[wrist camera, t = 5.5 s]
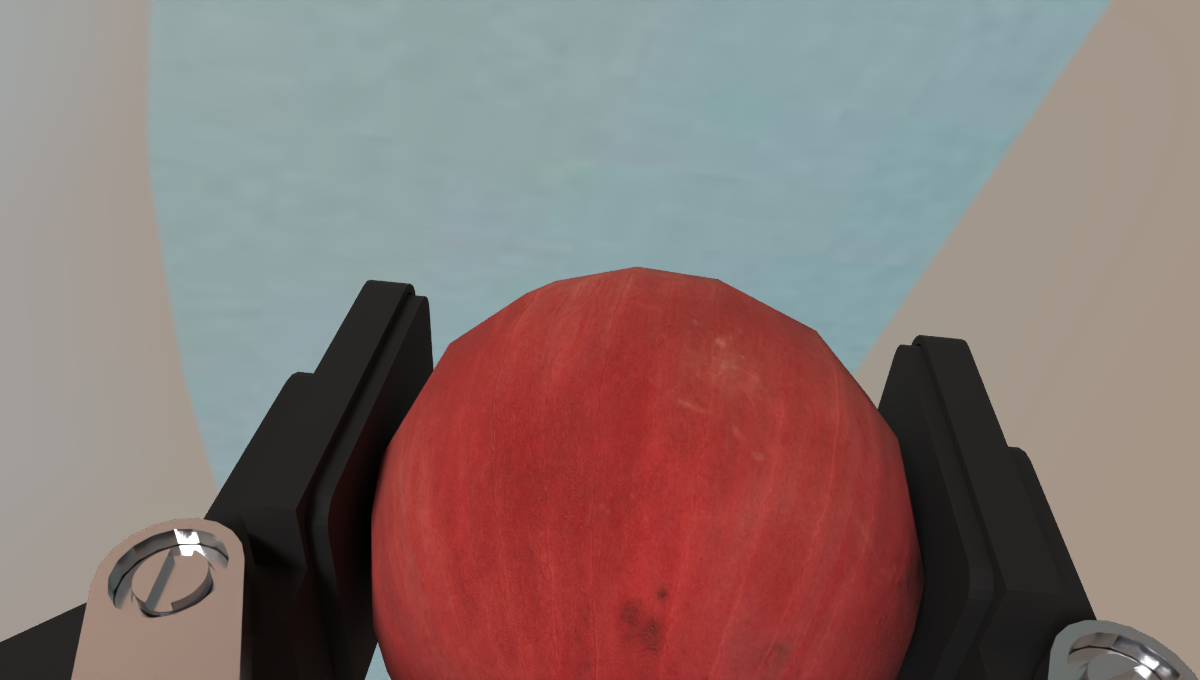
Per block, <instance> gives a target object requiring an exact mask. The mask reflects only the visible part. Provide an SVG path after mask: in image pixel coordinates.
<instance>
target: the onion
mask: <svg viewBox="0 0 1200 680" xmlns="http://www.w3.org/2000/svg"><path fill="white" fill-rule="evenodd" d="M924 584H925V574H924V568H923V562H922V556H921V550H920V544H919V538H918V532H917V526H916V520H915V514H914V510H913V505H912V501H911V496H910V492H909V487H908V483H907V478H906V473H905V469H904V464H903V460H902V455H901V451H900V446H899V442H898V438H897V437H896V435H895V434H894V433H893V431H892V430H891V428H890V427H889V425H888V424H887V422H886V421H885V420H884V418H883V417H882V415H881V414H880V412H879V411H878V410H877V408H876V407H875V405H874V404H873V402H872V401H871V400H870V398H869V397H868V395H867V394H866V393H865V391H864V390H863V389H862V388H861V386H860V385H859V384H858V383H857V381H856V380H855V379H854V378H853V376H852V375H851V374H850V373H849V371H848V370H847V369H846V368H845V366H844V365H843V364H842V363H841V361H840V360H839V359H838V358H837V356H836V355H835V354H834V353H833V351H832V350H831V349H830V348H829V346H828V345H827V344H826V343H825V341H824V340H823V339H822V338H821V336H820V335H819V334H818V333H817V331H815V330H813V329H812V328H810V327H808V326H806V325H804V324H802V323H800V322H798V321H796V320H794V319H792V318H791V317H789V316H787V315H785V314H783V313H781V312H779V311H777V310H775V309H773V308H772V307H770V306H768V305H766V304H764V303H762V302H760V301H758V300H756V299H754V298H753V297H751V296H749V295H747V294H745V293H743V292H741V291H739V290H737V289H735V288H734V287H732V286H730V285H728V284H726V283H724V282H722V281H720V280H718V279H712V278H706V277H700V276H693V275H687V274H681V273H674V272H668V271H661V270H655V269H649V268H642V267H633V268H627V269H622V270H616V271H610V272H604V273H599V274H593V275H587V276H582V277H576V278H570V279H565V280H559V281H555V282H553V283H550V284H548V285H546V286H543V287H541V288H538V289H536V290H534V291H531V292H529V293H526V294H525V295H523V296H522V297H520V298H519V299H517V300H515V301H514V302H512V303H511V304H509V305H508V306H506V307H505V308H503V309H502V310H500V311H499V312H497V313H496V314H494V315H493V316H491V317H490V318H488V319H487V320H485V321H484V322H482V323H480V324H479V325H477V326H476V327H474V328H473V329H471V330H470V331H468V332H467V333H465V334H464V335H462V336H461V337H459V338H458V339H456V340H455V341H453V342H452V343H450V344H449V346H448V347H447V349H446V351H445V352H444V354H443V356H442V357H441V359H440V361H439V362H438V364H437V366H436V367H435V369H434V370H433V372H432V374H431V375H430V377H429V379H428V380H427V382H426V384H425V385H424V387H423V389H422V390H421V392H420V394H419V395H418V397H417V398H416V400H415V402H414V403H413V405H412V407H411V408H410V410H409V412H408V413H407V415H406V417H405V418H404V420H403V422H402V423H401V425H400V426H399V428H398V430H397V431H396V433H395V435H394V436H393V438H392V440H391V441H390V443H389V445H388V446H387V448H386V450H385V451H384V453H383V454H382V456H381V461H380V467H379V472H378V478H377V484H376V490H375V496H374V502H373V507H372V513H371V592H372V614H373V628H374V631H375V634H376V637H377V641H378V644H379V647H380V650H381V653H382V657H383V660H384V663H385V666H386V669H387V672H388V674H389V676H390V678H391V680H896V679H897V676H898V674H899V671H900V668H901V665H902V663H903V660H904V657H905V654H906V652H907V649H908V646H909V644H910V641H911V638H912V635H913V633H914V629H915V624H916V620H917V615H918V611H919V606H920V602H921V597H922V593H923V588H924Z"/></svg>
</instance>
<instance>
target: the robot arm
mask: <svg viewBox="0 0 1200 680" xmlns="http://www.w3.org/2000/svg"><path fill="white" fill-rule="evenodd" d="M432 372H433V357H432V342H431V326H430V311H429V302H428V299H427V297H425V296H415V290H414V287H413V286H412V285H411V284H406V283H396V282H386V281H376V280H369V281H367V282H366V283H365V284H364V286H363V288H362V290H361V291H360V293H359V295H358V297H357V298H356V300H355V302H354V304H353V305H352V307H351V309H350V311H349V312H348V314H347V316H346V318H345V319H344V321H343V323H342V325H341V326H340V328H339V330H338V332H337V334H336V335H335V337H334V339H333V341H332V342H331V344H330V346H329V348H328V349H327V351H326V353H325V355H324V356H323V358H322V360H321V362H320V363H319V365H318V367H317V369H316V370H315V372H314V373H304V372H297V373H295V374H293V375H291V377H290V378H289V379H288V380H287V382H286V383H285V385H284V386H283V388H282V389H281V391H280V393H279V394H278V396H277V398H276V399H275V401H274V403H273V404H272V406H271V408H270V409H269V411H268V413H267V414H266V416H265V418H264V419H263V421H262V423H261V424H260V426H259V428H258V429H257V431H256V433H255V434H254V436H253V438H252V439H251V441H250V443H249V444H248V446H247V448H246V449H245V451H244V453H243V454H242V456H241V458H240V459H239V461H238V463H237V464H236V466H235V468H234V469H233V471H232V473H231V474H230V476H229V478H228V479H227V481H226V483H225V484H224V486H223V488H222V489H221V491H220V493H219V494H218V496H217V498H216V499H215V501H214V503H213V504H212V506H211V507H210V509H209V511H208V513H207V514H206V516H205V518H204V519H199V518H189V519H174V520H170V521H166V522H162V523H158V524H154V525H151V526H149V527H147V528H145V529H143V530H141V531H139V532H137V533H135V534H133V535H131V536H129V537H128V538H127V539H125V540H124V541H123V542H121V543H120V544H119V545H117V546H116V547H115V548H113V549H112V550H111V551H110V553H109V554H108V555H107V556H106V558H105V559H104V560H103V561H102V562H101V563H100V565H99V566H98V568H97V570H96V573H95V575H94V578H93V580H92V582H91V586H90V590H89V595H88V600H87V603H84V604H82V605H80V606H78V607H76V608H74V609H71V610H69V611H67V612H65V613H63V614H61V615H58V616H56V617H54V618H52V619H50V620H48V621H45V622H43V623H41V624H39V625H37V626H35V627H32V628H30V629H28V630H26V631H24V632H22V633H19V634H17V635H15V636H13V637H11V638H9V639H6V640H4V641H2V642H0V680H365V677H366V674H367V671H368V668H369V666H370V663H371V660H372V657H373V654H374V651H375V648H376V645H377V642H378V641H377V637H376V634H375V631H374V628H373V614H372V592H371V513H372V507H373V502H374V496H375V490H376V484H377V478H378V472H379V467H380V461H381V456H382V454H383V453H384V451H385V450H386V448H387V446H388V445H389V443H390V441H391V440H392V438H393V436H394V435H395V433H396V431H397V430H398V428H399V426H400V425H401V423H402V422H403V420H404V418H405V417H406V415H407V413H408V412H409V410H410V408H411V407H412V405H413V403H414V402H415V400H416V398H417V397H418V395H419V394H420V392H421V390H422V389H423V387H424V385H425V384H426V382H427V380H428V379H429V377H430V375H431V374H432ZM878 411H879V412H880V414H881V415H882V417H883V418H884V420H885V421H886V422H887V424H888V425H889V427H890V428H891V430H892V431H893V433H894V434H895V435H896V437H897V438H898V442H899V446H900V451H901V455H902V460H903V464H904V469H905V473H906V478H907V483H908V487H909V492H910V496H911V501H912V505H913V510H914V514H915V520H916V526H917V532H918V538H919V544H920V550H921V556H922V562H923V568H924V574H925V584H924V588H923V593H922V597H921V602H920V606H919V611H918V615H917V620H916V624H915V629H914V633H913V635H912V638H911V641H910V644H909V646H908V649H907V652H906V654H905V657H904V660H903V663H902V665H901V668H900V671H899V674H898V676H897V679H896V680H1198V678H1197V677H1196V675H1195V673H1193V672H1192V670H1191V669H1190V668H1189V667H1188V666H1187V665H1186V664H1185V663H1184V662H1183V661H1182V660H1181V659H1180V658H1179V657H1178V656H1177V655H1176V654H1175V653H1174V652H1172V651H1171V650H1170V649H1168V648H1167V647H1165V646H1164V645H1163V644H1161V643H1160V642H1158V641H1157V640H1156V639H1154V638H1152V637H1150V636H1148V635H1146V634H1144V633H1142V632H1140V631H1138V630H1136V629H1134V628H1132V627H1129V626H1125V625H1121V624H1118V623H1114V622H1110V621H1100V620H1099V621H1098V620H1097V619H1096V617H1095V615H1094V612H1093V610H1092V607H1091V605H1090V603H1089V600H1088V598H1087V596H1086V593H1085V591H1084V588H1083V586H1082V583H1081V581H1080V579H1079V576H1078V574H1077V571H1076V569H1075V567H1074V564H1073V562H1072V560H1071V557H1070V555H1069V552H1068V550H1067V547H1066V545H1065V543H1064V540H1063V538H1062V535H1061V533H1060V530H1059V528H1058V526H1057V523H1056V521H1055V518H1054V516H1053V514H1052V511H1051V509H1050V506H1049V504H1048V502H1047V499H1046V497H1045V494H1044V492H1043V490H1042V487H1041V485H1040V482H1039V480H1038V478H1037V475H1036V473H1035V470H1034V468H1033V465H1032V464H1031V461H1030V459H1029V458H1028V456H1027V454H1026V452H1024V451H1023V450H1021V449H1020V448H1017V447H1008V445H1007V443H1006V440H1005V438H1004V435H1003V433H1002V430H1001V427H1000V425H999V422H998V420H997V417H996V415H995V412H994V410H993V407H992V405H991V403H990V400H989V397H988V395H987V392H986V389H985V387H984V384H983V382H982V379H981V377H980V374H979V372H978V369H977V367H976V364H975V361H974V359H973V356H972V354H971V351H970V349H969V346H968V345H967V343H966V341H964V340H962V339H954V338H944V337H934V336H924V335H919V336H917V337H916V338H915V339H914V341H913V342H912V345H900V346H899V347H898V348H897V350H896V353H895V355H894V359H893V362H892V365H891V368H890V371H889V375H888V378H887V381H886V384H885V388H884V391H883V394H882V397H881V400H880V404H879V407H878Z"/></svg>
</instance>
